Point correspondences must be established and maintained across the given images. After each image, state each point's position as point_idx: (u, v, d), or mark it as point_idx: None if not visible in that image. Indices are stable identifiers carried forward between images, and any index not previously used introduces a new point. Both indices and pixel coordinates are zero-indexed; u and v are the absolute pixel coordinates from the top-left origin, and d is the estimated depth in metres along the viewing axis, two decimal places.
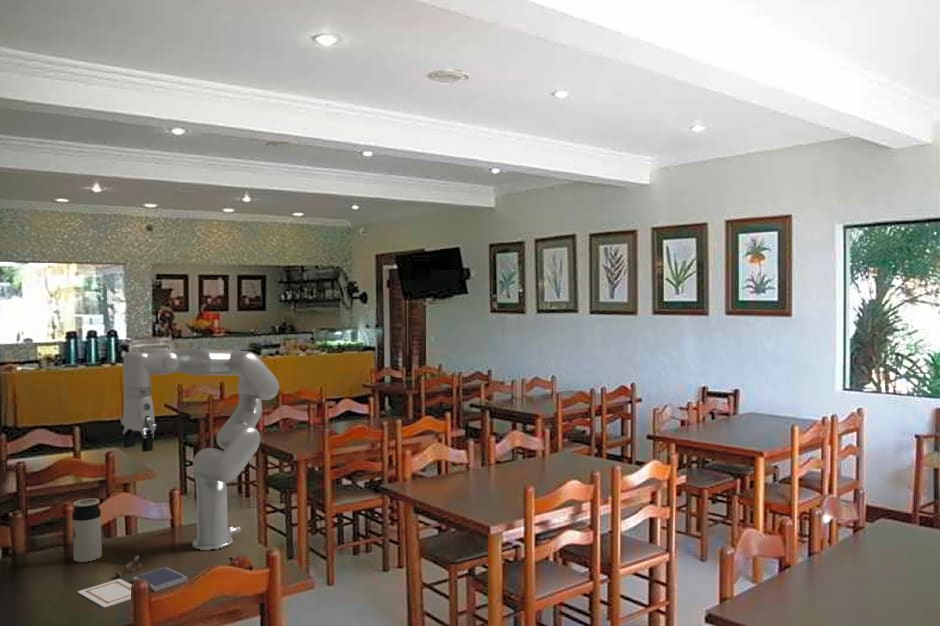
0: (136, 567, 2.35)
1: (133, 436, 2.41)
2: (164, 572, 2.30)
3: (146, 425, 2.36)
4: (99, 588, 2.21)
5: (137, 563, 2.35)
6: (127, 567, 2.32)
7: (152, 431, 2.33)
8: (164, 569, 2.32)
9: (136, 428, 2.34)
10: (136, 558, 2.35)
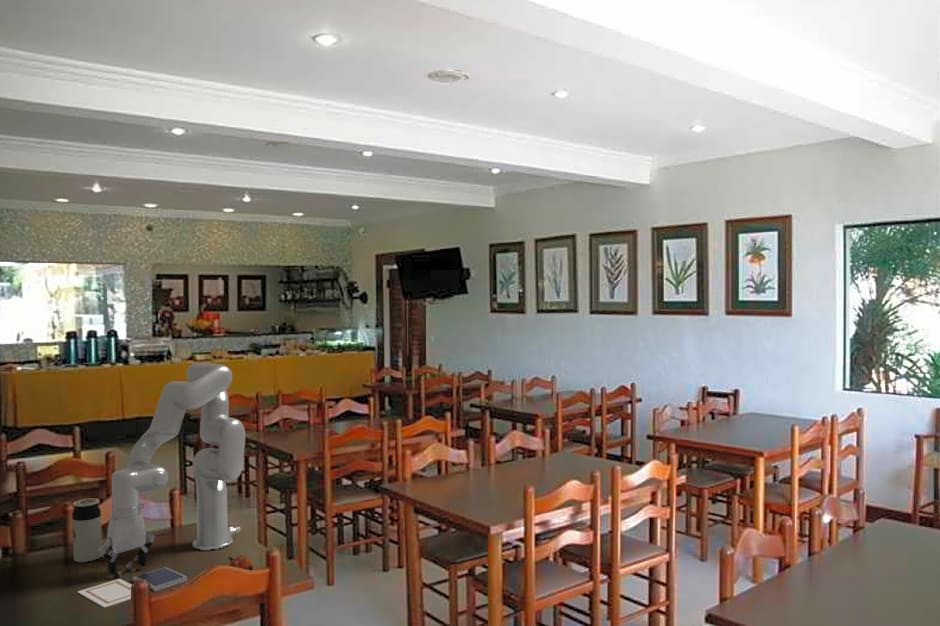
0: (136, 567, 2.35)
1: None
2: (164, 572, 2.30)
3: None
4: (99, 588, 2.21)
5: (137, 563, 2.35)
6: (127, 567, 2.32)
7: None
8: (164, 569, 2.32)
9: (139, 545, 2.33)
10: (136, 558, 2.35)
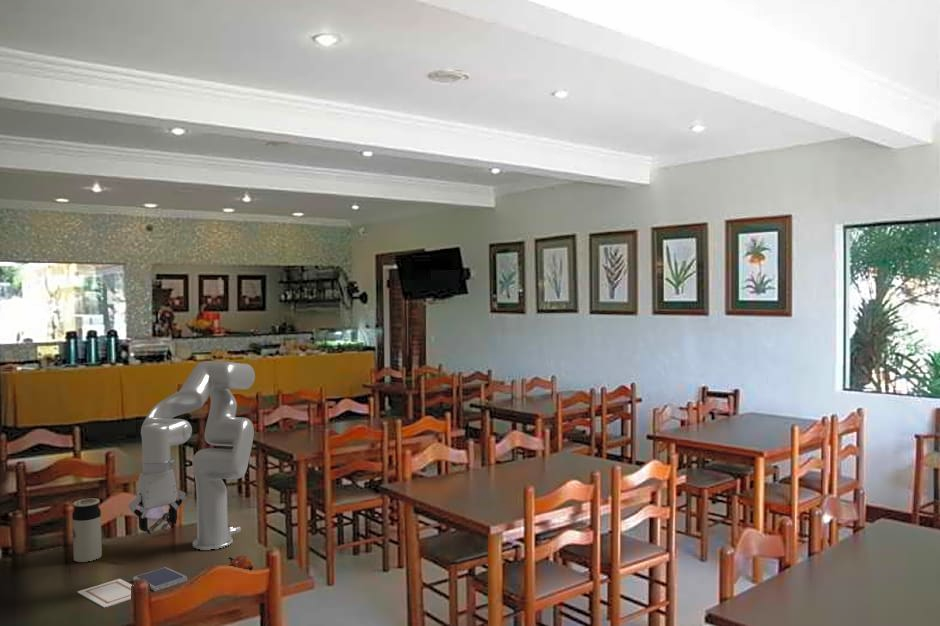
0: (166, 524, 2.29)
1: None
2: (164, 572, 2.30)
3: None
4: (99, 588, 2.21)
5: (167, 520, 2.29)
6: (157, 524, 2.26)
7: None
8: (164, 569, 2.32)
9: (169, 501, 2.27)
10: (166, 515, 2.28)
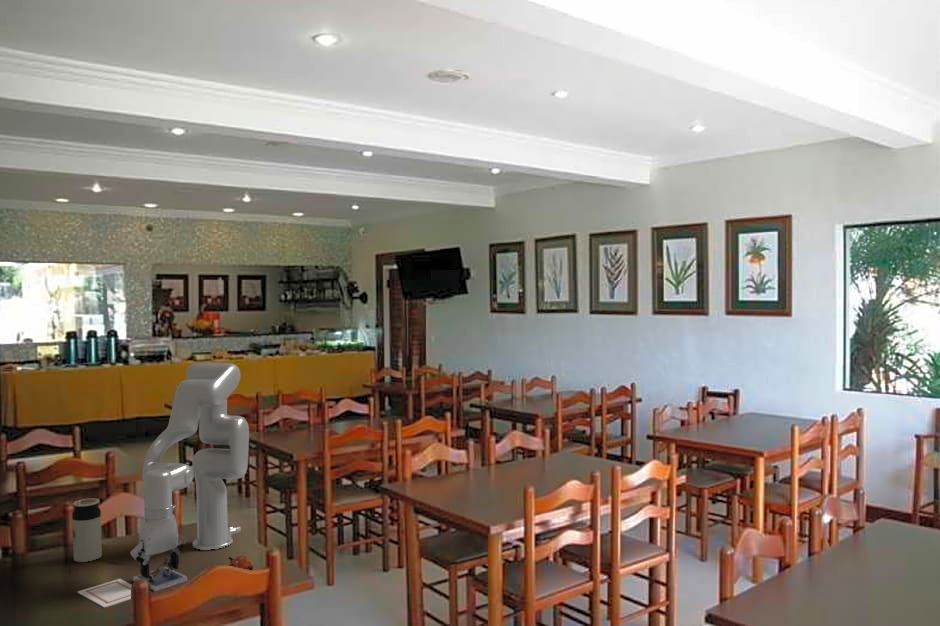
0: (168, 569, 2.29)
1: None
2: None
3: None
4: (99, 588, 2.21)
5: (169, 565, 2.29)
6: (159, 569, 2.26)
7: None
8: (164, 569, 2.32)
9: (171, 547, 2.27)
10: (168, 560, 2.29)
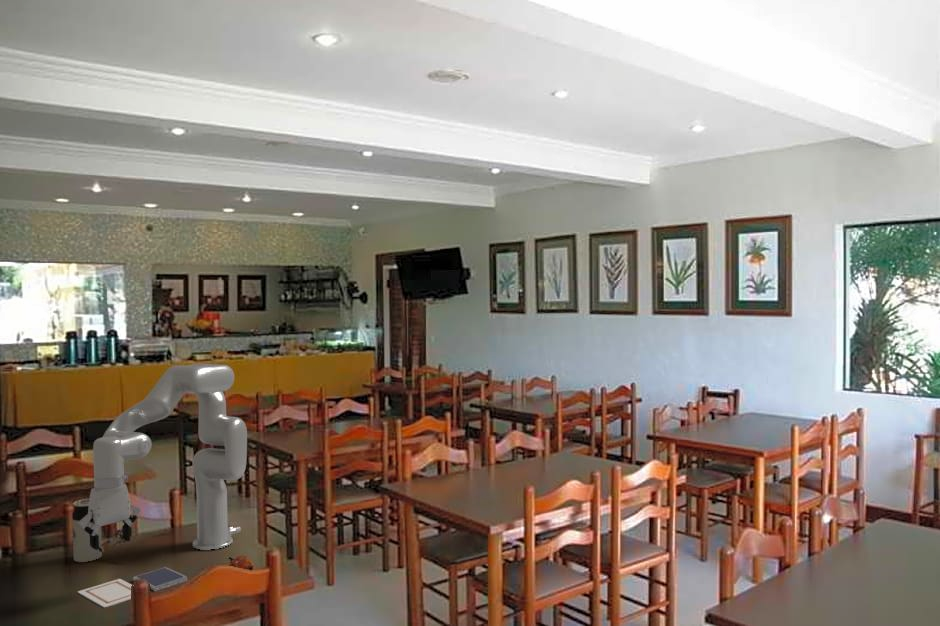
0: (120, 541, 2.20)
1: None
2: (164, 572, 2.30)
3: None
4: (99, 588, 2.21)
5: (121, 537, 2.20)
6: (110, 541, 2.17)
7: None
8: (164, 569, 2.32)
9: (123, 518, 2.18)
10: (120, 532, 2.19)
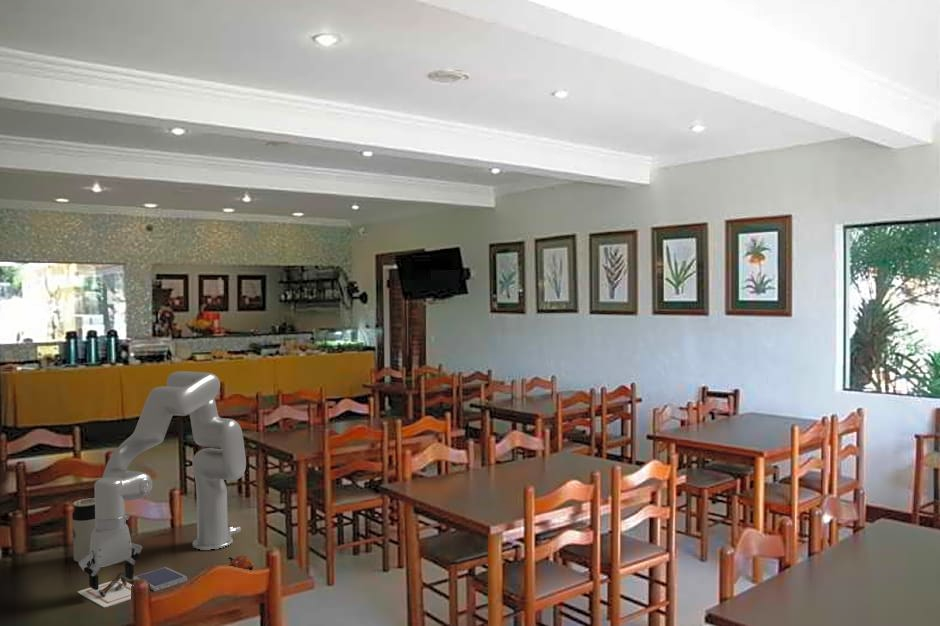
0: (121, 584, 2.21)
1: None
2: (164, 572, 2.30)
3: None
4: (99, 588, 2.21)
5: (122, 580, 2.21)
6: (111, 585, 2.18)
7: None
8: (164, 569, 2.32)
9: (124, 558, 2.19)
10: (121, 575, 2.20)
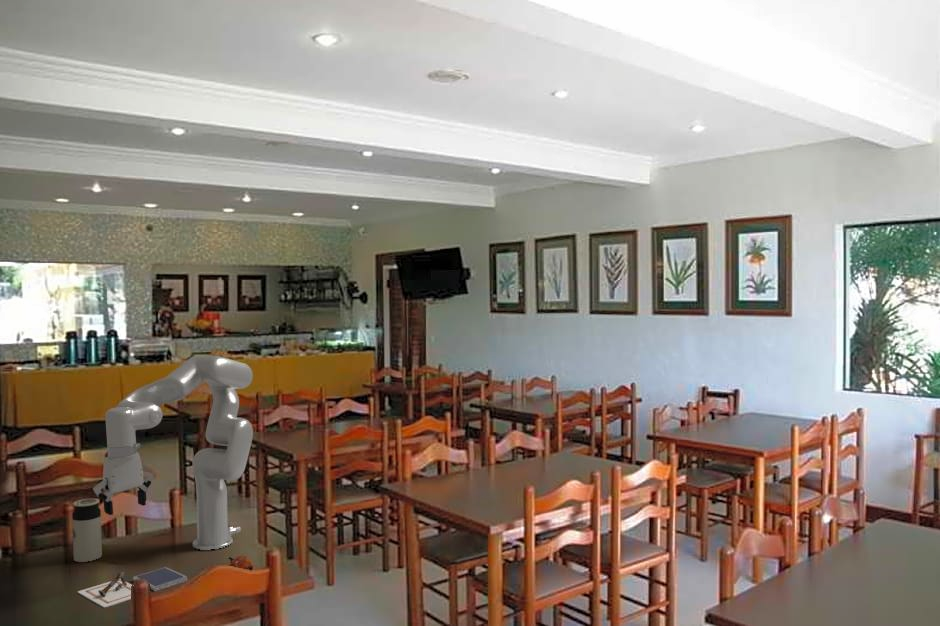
0: (121, 584, 2.21)
1: None
2: (164, 572, 2.30)
3: None
4: (99, 588, 2.21)
5: (122, 580, 2.21)
6: (111, 585, 2.18)
7: None
8: (164, 569, 2.32)
9: (136, 485, 2.26)
10: (121, 575, 2.20)
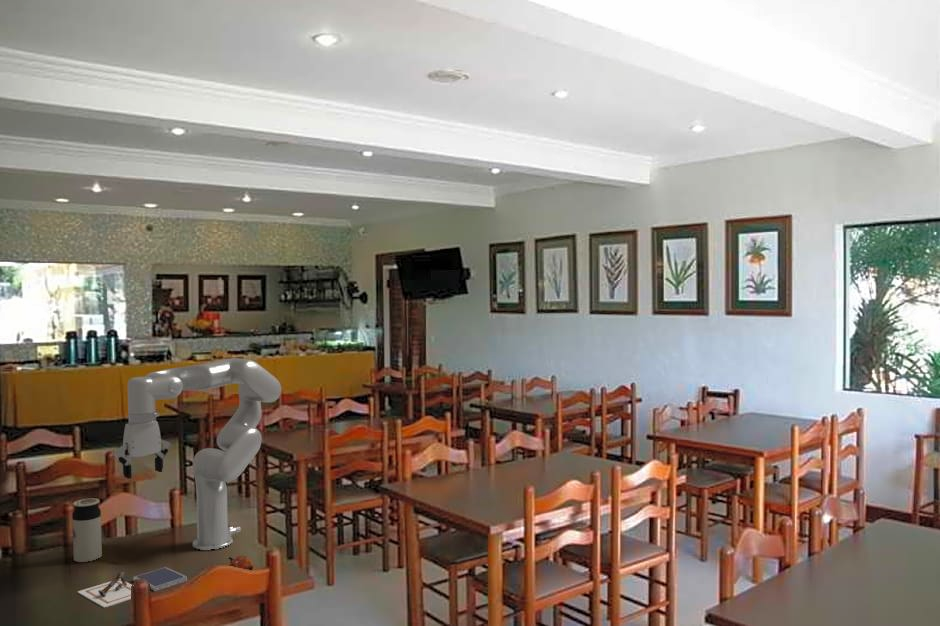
0: (121, 584, 2.21)
1: None
2: (164, 572, 2.30)
3: None
4: (99, 588, 2.21)
5: (122, 580, 2.21)
6: (111, 585, 2.18)
7: None
8: (164, 569, 2.32)
9: (154, 451, 2.37)
10: (121, 575, 2.20)
